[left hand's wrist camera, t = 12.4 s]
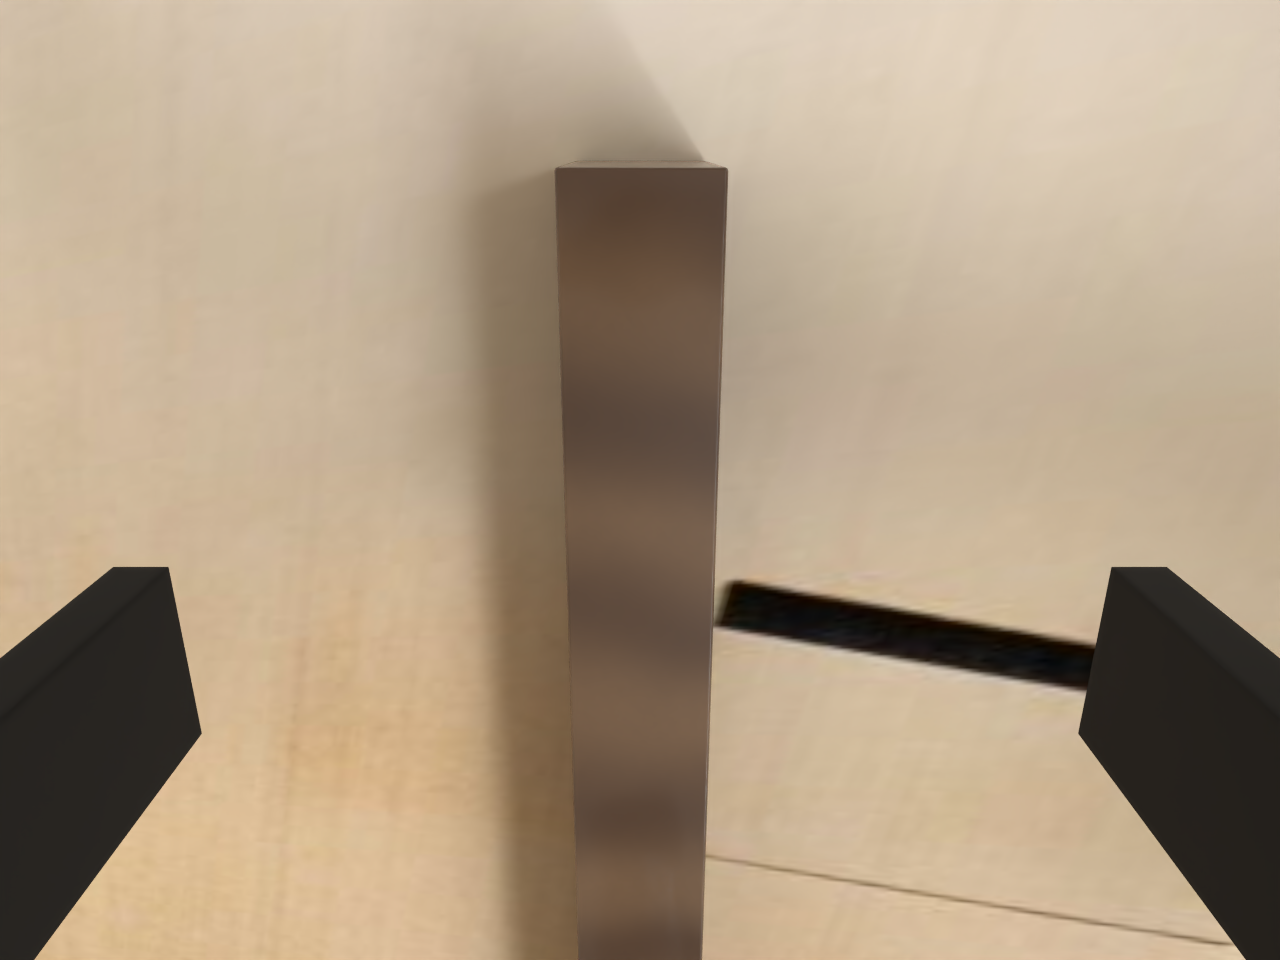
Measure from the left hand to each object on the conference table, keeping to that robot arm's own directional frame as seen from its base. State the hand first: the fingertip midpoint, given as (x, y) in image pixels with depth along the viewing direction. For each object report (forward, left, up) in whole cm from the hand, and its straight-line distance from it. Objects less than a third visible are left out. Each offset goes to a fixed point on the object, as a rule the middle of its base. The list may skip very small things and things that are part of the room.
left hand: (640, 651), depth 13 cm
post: (+21, +23, -25) cm, 40 cm away
